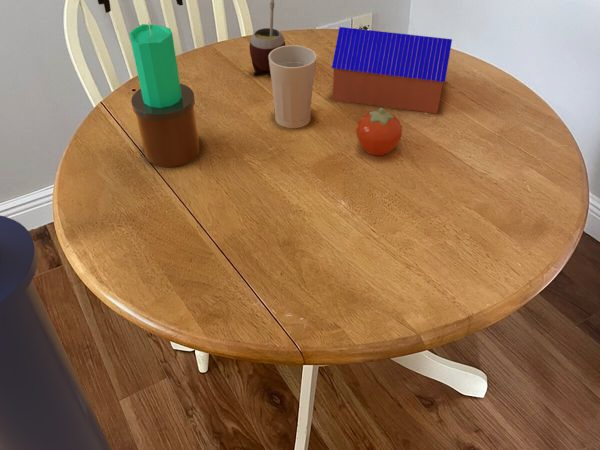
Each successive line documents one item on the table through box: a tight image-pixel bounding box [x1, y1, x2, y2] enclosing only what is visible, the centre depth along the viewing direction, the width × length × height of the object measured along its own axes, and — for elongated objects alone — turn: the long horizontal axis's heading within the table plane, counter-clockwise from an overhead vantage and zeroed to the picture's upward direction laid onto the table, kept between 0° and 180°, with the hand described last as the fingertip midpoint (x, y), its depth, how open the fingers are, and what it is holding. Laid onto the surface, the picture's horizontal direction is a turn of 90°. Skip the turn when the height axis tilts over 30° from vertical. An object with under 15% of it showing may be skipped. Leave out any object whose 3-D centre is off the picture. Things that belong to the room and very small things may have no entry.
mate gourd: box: [249, 0, 287, 77], centre depth 112 cm, size 8×8×15 cm
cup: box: [268, 44, 318, 129], centre depth 101 cm, size 8×8×12 cm
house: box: [331, 26, 453, 115], centre depth 108 cm, size 12×20×12 cm, turn 76°
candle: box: [128, 22, 182, 108], centre depth 86 cm, size 6×6×12 cm
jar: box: [130, 82, 201, 168], centre depth 94 cm, size 10×10×10 cm
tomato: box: [355, 107, 403, 157], centre depth 95 cm, size 7×7×8 cm
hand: (143, 5), depth 80 cm, fingers open, 9 cm apart
